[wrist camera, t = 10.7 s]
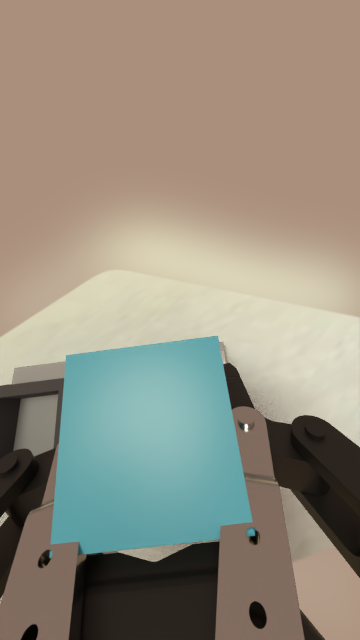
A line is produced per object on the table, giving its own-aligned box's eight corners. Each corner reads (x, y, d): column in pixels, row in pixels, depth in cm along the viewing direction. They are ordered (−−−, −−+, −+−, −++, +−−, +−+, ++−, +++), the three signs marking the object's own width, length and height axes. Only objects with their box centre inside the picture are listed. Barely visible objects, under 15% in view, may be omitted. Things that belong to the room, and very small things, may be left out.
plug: (155, 446, 15) (49, 557, 4) (152, 387, 17) (66, 355, 6) (211, 439, 15) (255, 535, 4) (202, 381, 17) (217, 335, 6)
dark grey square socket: (-3, 479, 19) (-36, 492, 16) (12, 389, 22) (-14, 387, 19) (82, 469, 19) (63, 480, 16) (86, 380, 22) (70, 377, 19)
